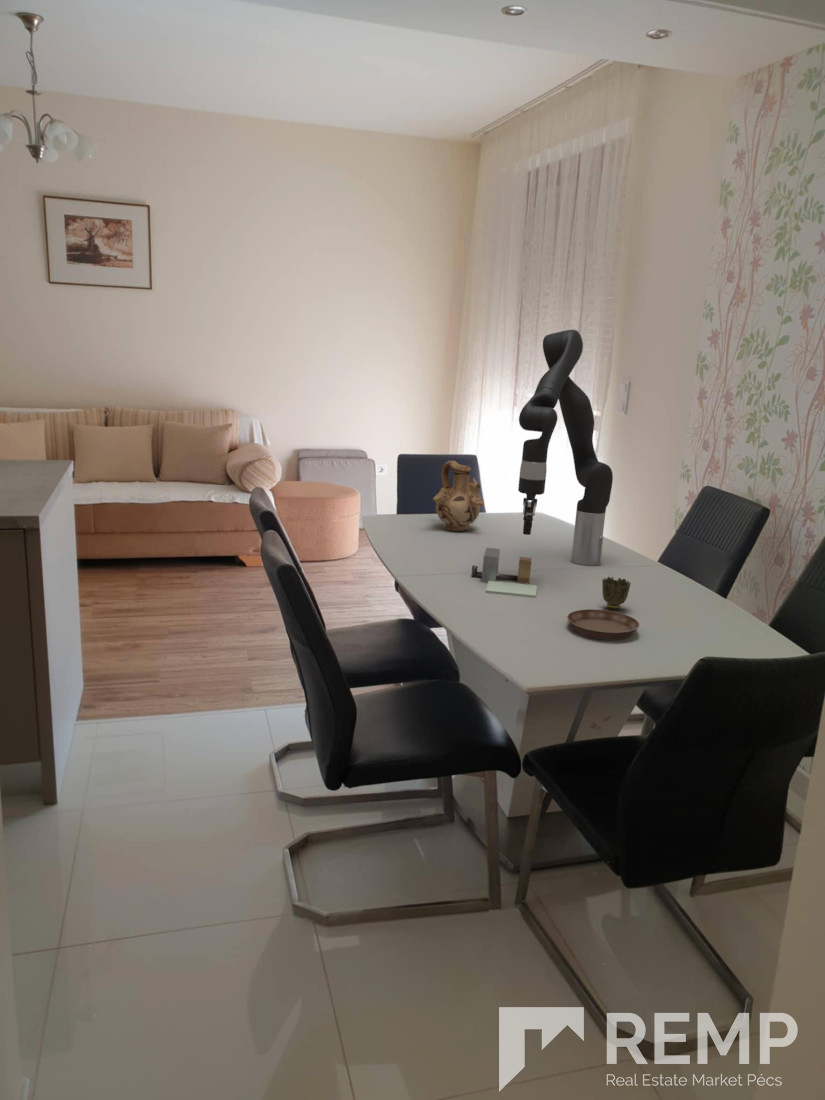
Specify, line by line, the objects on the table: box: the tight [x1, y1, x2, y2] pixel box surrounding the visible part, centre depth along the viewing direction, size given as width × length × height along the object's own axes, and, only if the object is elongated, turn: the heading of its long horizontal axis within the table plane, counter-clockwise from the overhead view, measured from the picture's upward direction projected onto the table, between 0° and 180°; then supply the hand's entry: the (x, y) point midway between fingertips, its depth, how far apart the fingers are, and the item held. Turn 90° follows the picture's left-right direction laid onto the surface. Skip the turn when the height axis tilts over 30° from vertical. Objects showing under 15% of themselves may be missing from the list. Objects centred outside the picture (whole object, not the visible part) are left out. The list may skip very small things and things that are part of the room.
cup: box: [601, 576, 631, 611], centre depth 226 cm, size 8×7×8 cm
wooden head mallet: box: [470, 556, 533, 585], centre depth 248 cm, size 17×4×7 cm, turn 80°
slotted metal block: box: [481, 547, 501, 584], centre depth 249 cm, size 4×10×8 cm, turn 170°
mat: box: [485, 580, 538, 598], centre depth 239 cm, size 14×10×1 cm
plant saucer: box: [566, 608, 640, 641], centre depth 209 cm, size 18×18×3 cm
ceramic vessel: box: [432, 460, 485, 532], centre depth 308 cm, size 18×19×25 cm
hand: (527, 531), depth 244 cm, fingers open, 8 cm apart
